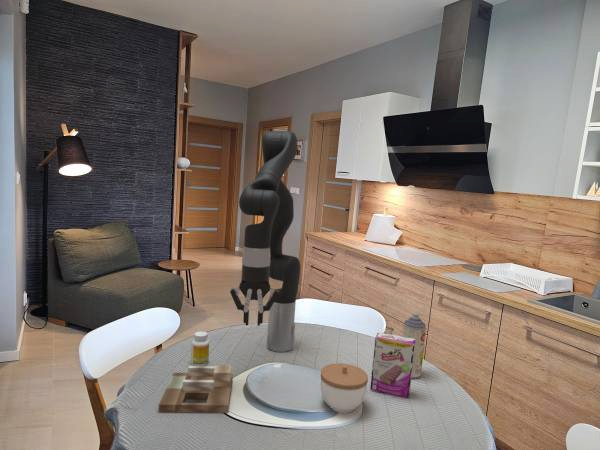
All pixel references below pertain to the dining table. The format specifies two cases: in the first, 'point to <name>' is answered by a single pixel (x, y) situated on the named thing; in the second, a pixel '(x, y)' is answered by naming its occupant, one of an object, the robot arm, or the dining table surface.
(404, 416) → the dining table surface
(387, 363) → the candy bar box
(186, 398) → the channel deck
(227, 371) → the birch block
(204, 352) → the supplement bottle
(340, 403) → the lidded bowl
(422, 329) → the aerosol can
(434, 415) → the dining table surface
